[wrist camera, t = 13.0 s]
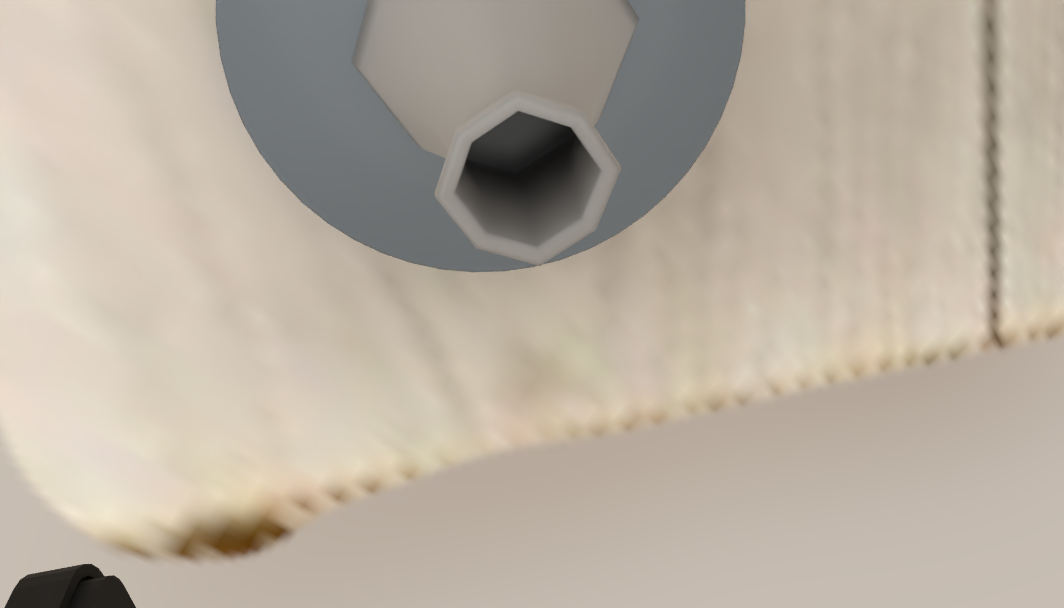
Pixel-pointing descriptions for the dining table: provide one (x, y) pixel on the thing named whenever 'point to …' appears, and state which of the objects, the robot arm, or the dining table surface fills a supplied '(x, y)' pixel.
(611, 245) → the dining table surface
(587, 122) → the flask
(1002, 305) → the dining table surface
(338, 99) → the slate dish
